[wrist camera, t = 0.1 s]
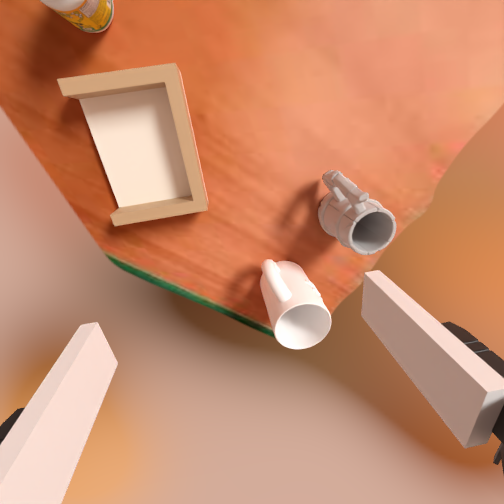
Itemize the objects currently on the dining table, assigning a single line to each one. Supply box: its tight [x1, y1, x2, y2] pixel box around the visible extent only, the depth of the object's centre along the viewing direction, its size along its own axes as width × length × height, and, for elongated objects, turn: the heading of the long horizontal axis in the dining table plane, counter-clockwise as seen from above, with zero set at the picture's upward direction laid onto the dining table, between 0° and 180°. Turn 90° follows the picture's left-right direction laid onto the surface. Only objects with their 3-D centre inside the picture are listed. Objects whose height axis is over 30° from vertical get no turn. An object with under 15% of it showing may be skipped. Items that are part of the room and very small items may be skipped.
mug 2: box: [318, 170, 396, 255], centre depth 36 cm, size 8×12×12 cm, turn 33°
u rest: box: [57, 63, 208, 226], centre depth 33 cm, size 16×12×4 cm
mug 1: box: [260, 259, 331, 349], centre depth 40 cm, size 8×12×12 cm
